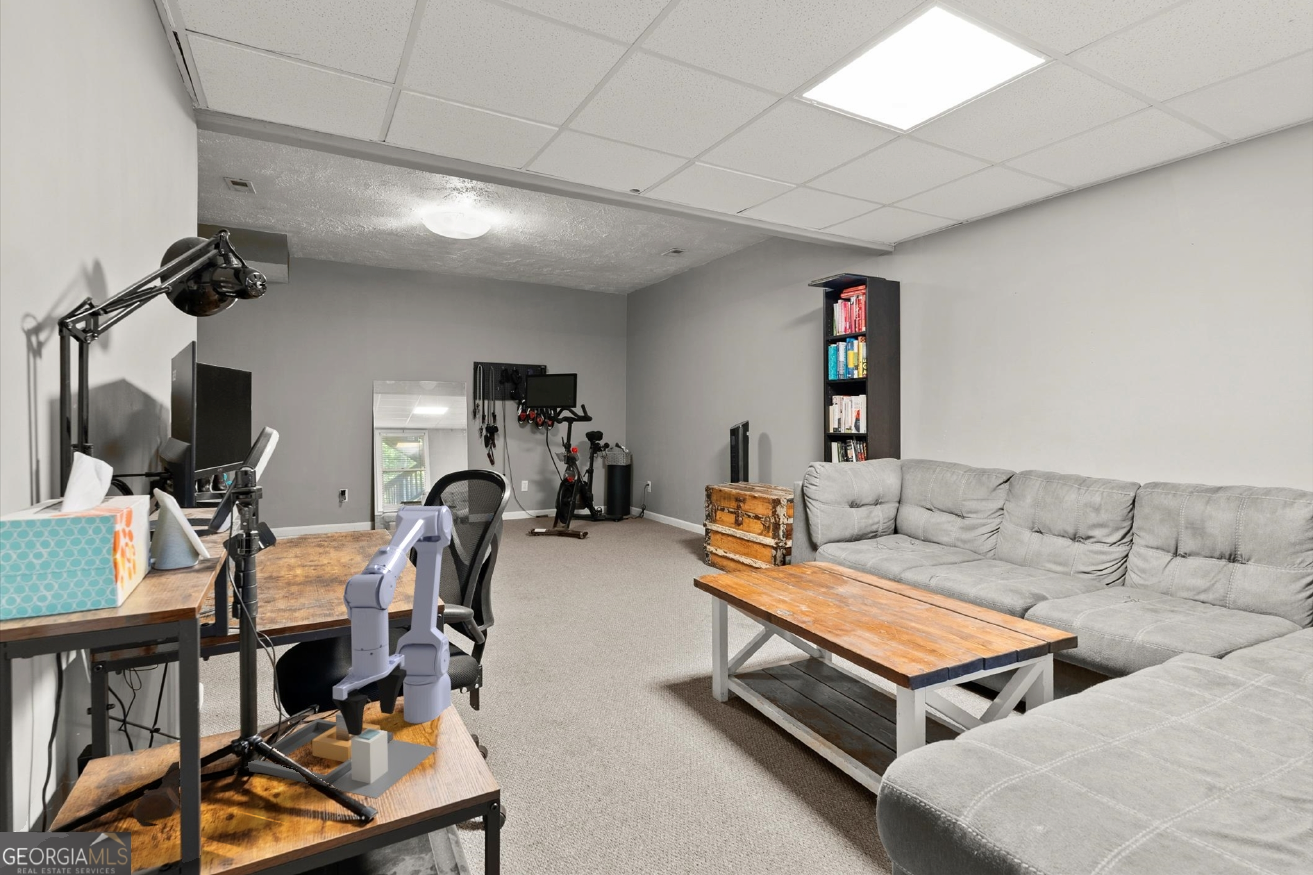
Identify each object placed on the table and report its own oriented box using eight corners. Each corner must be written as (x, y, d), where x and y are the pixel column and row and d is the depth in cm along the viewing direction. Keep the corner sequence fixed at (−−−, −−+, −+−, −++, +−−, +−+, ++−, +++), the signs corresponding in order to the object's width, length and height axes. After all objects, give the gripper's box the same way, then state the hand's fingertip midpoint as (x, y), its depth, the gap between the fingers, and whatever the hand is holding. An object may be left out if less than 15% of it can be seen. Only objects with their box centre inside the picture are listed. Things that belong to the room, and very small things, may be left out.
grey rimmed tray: (317, 730, 126) (317, 711, 126) (393, 745, 121) (392, 724, 120) (243, 775, 111) (243, 752, 111) (326, 793, 105) (325, 770, 105)
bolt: (195, 783, 112) (160, 833, 98) (165, 773, 110) (125, 823, 96) (214, 751, 113) (182, 797, 98) (184, 741, 111) (148, 786, 97)
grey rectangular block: (349, 743, 119) (348, 707, 119) (361, 746, 118) (361, 709, 118) (336, 751, 116) (335, 714, 116) (349, 754, 116) (348, 716, 115)
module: (369, 766, 111) (368, 726, 111) (387, 770, 110) (387, 730, 110) (351, 779, 107) (350, 737, 107) (370, 783, 106) (370, 741, 106)
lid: (391, 745, 121) (391, 738, 121) (438, 754, 118) (438, 747, 118) (324, 793, 105) (324, 786, 105) (376, 805, 102) (376, 798, 102)
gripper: (381, 627, 116) (382, 701, 116) (317, 657, 102) (318, 740, 102) (413, 632, 114) (414, 706, 114) (352, 662, 100) (354, 747, 100)
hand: (371, 722), depth 108 cm, fingers open, 7 cm apart
